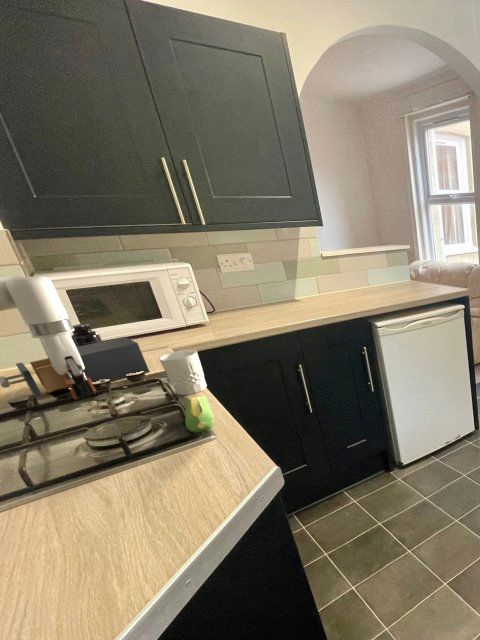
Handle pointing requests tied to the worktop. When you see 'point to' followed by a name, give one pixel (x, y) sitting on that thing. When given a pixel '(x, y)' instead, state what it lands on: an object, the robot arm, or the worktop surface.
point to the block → (68, 384)
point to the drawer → (44, 373)
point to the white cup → (184, 371)
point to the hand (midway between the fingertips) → (83, 393)
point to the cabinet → (112, 359)
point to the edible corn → (198, 414)
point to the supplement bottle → (84, 335)
